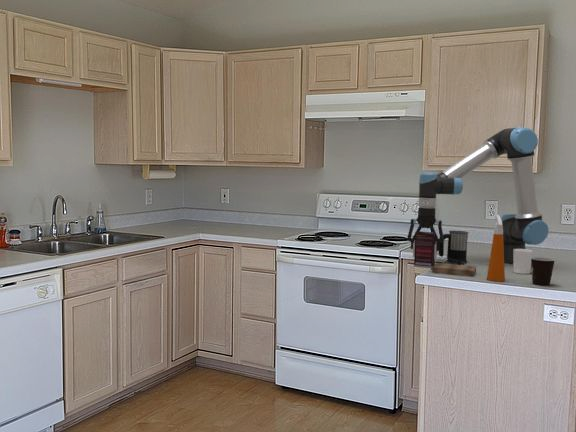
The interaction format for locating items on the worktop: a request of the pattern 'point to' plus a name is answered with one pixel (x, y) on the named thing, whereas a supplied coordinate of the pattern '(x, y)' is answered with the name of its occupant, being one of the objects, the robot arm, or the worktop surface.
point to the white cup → (522, 260)
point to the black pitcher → (455, 247)
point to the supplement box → (424, 249)
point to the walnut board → (454, 269)
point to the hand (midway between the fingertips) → (424, 257)
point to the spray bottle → (497, 254)
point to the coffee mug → (542, 270)
